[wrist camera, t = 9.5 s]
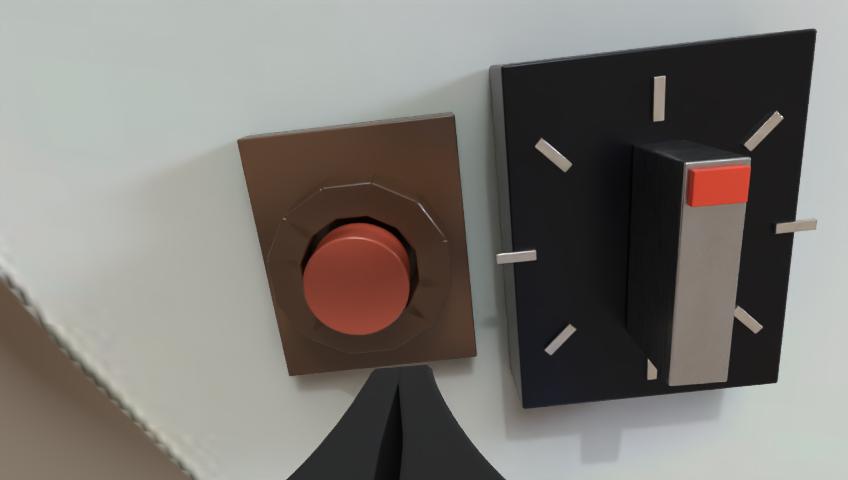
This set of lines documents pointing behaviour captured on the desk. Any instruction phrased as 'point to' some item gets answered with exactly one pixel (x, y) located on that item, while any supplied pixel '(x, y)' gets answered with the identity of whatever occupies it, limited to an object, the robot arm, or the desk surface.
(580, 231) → the dial base
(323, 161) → the button block
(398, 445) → the robot arm
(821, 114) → the desk surface
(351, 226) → the button
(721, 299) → the knob
